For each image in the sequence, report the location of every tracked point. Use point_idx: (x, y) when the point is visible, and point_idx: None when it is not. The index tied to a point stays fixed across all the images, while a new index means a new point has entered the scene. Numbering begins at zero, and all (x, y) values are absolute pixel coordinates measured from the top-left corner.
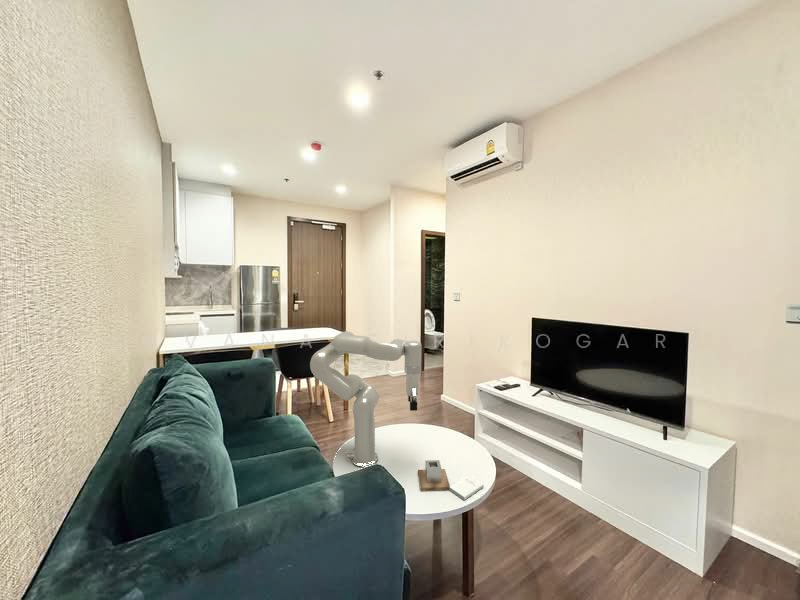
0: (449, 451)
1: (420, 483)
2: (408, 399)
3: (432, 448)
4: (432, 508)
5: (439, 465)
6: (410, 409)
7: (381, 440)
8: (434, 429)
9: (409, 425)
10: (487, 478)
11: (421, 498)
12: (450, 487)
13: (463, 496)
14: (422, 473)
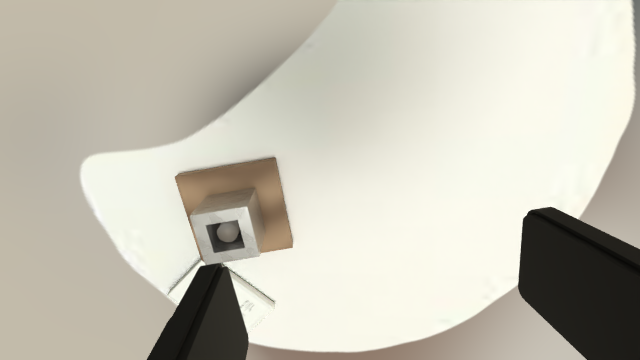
0: (411, 255)
1: (197, 174)
2: (555, 223)
3: (430, 201)
4: (112, 210)
5: (224, 257)
6: (198, 278)
7: None
8: (566, 205)
9: (619, 99)
10: (280, 346)
11: (146, 176)
12: (199, 263)
13: (167, 295)
14: (254, 178)
